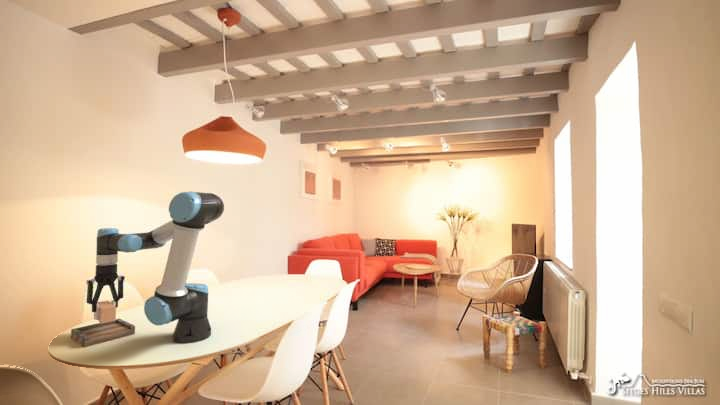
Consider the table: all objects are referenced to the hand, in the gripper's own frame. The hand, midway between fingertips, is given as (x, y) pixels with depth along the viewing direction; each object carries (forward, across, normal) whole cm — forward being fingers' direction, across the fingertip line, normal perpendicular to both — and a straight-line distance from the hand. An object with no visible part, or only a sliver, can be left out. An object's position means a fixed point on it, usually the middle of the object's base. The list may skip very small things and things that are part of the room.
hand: (104, 317), depth 147 cm
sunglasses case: (0, 0, 0) cm, 1 cm away
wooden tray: (+8, 0, -1) cm, 8 cm away
